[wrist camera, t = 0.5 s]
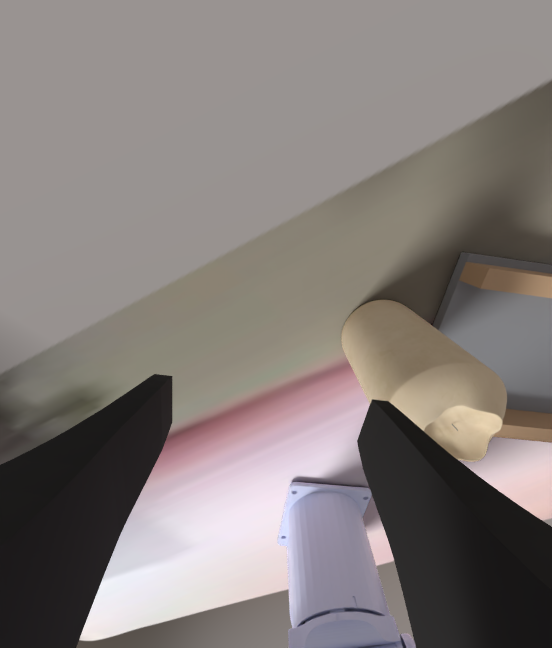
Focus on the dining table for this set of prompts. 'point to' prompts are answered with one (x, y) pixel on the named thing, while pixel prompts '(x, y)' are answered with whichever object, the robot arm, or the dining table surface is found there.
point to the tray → (506, 333)
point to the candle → (425, 377)
